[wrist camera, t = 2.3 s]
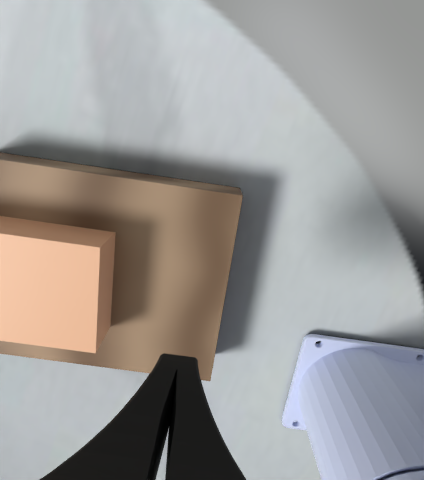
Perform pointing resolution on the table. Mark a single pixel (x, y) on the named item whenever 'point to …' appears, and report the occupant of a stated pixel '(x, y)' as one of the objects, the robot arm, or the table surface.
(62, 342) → the block
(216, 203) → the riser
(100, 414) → the table surface
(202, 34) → the table surface
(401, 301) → the table surface
